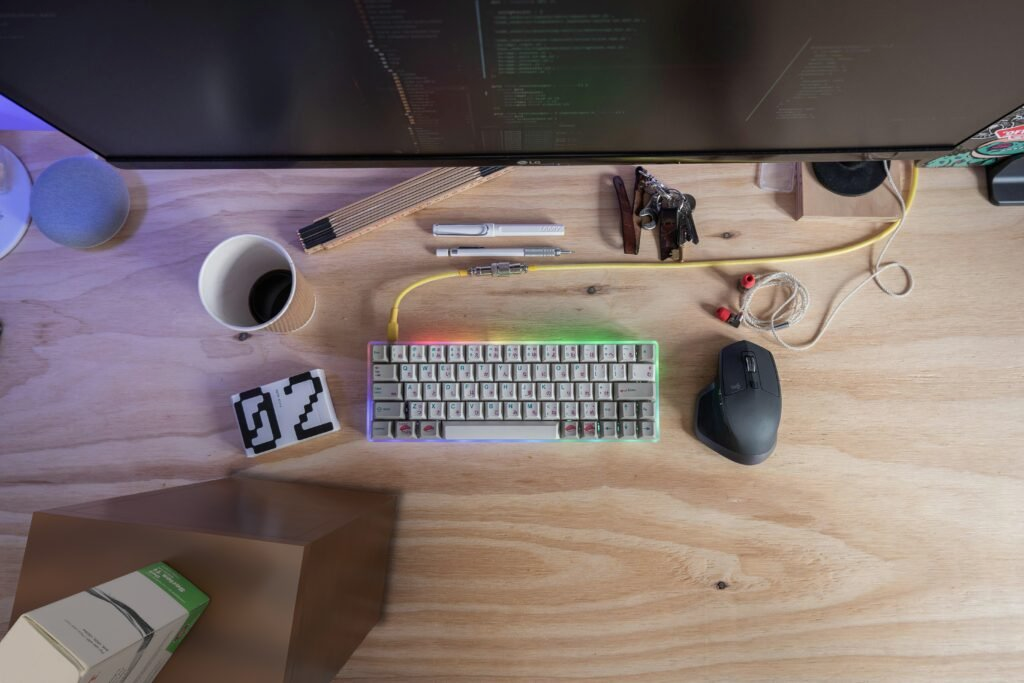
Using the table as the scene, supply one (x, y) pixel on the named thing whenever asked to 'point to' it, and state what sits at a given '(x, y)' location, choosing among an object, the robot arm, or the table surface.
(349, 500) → the shelf stand
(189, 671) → the shelf
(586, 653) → the table surface
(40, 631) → the ink box
